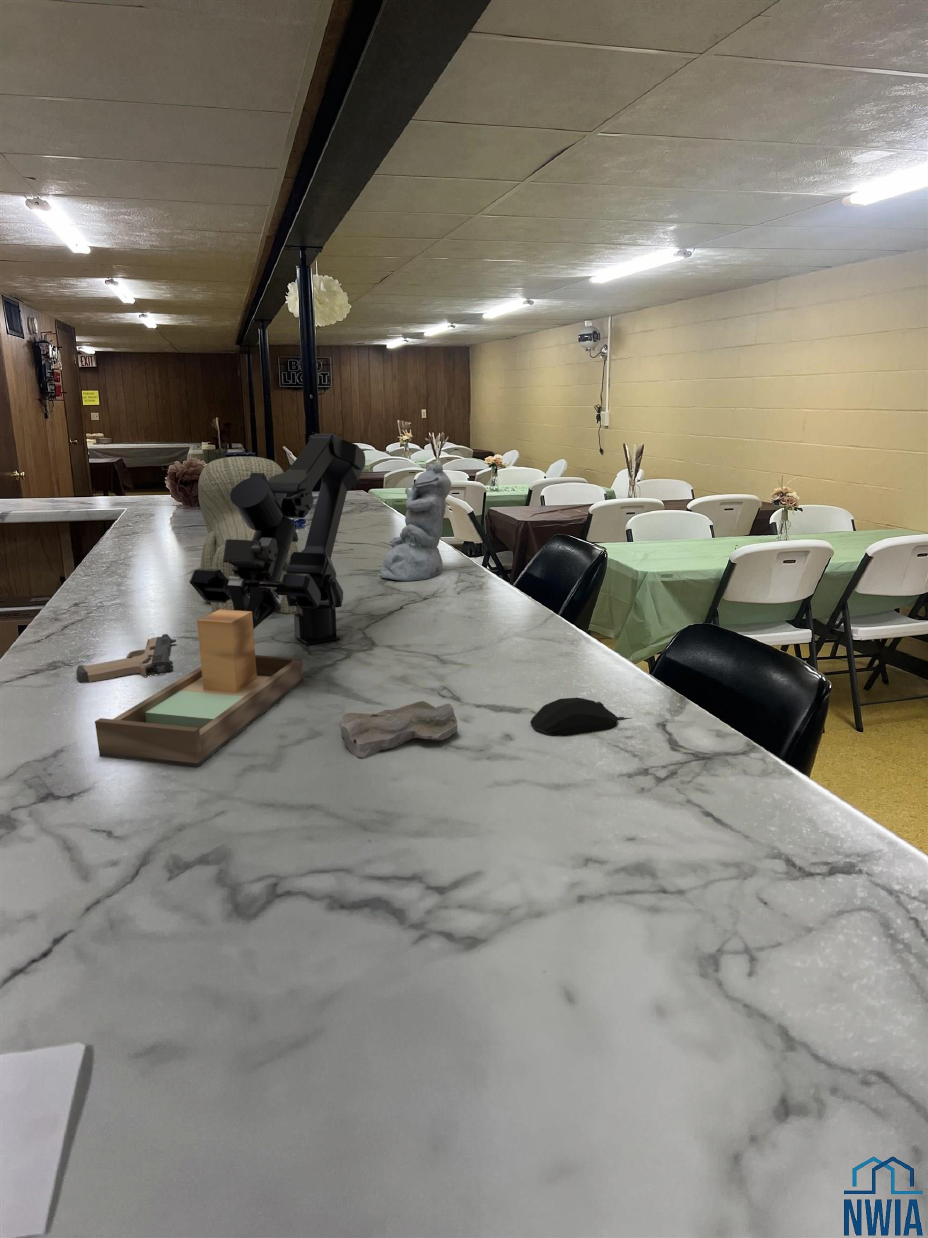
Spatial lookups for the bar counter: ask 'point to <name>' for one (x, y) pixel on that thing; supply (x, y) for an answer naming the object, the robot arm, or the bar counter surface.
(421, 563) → the sculpture
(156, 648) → the handgun
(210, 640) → the block
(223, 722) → the tray box
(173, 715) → the pad
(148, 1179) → the bar counter surface
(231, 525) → the toy
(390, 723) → the stone
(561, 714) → the gaming mouse
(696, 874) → the bar counter surface
